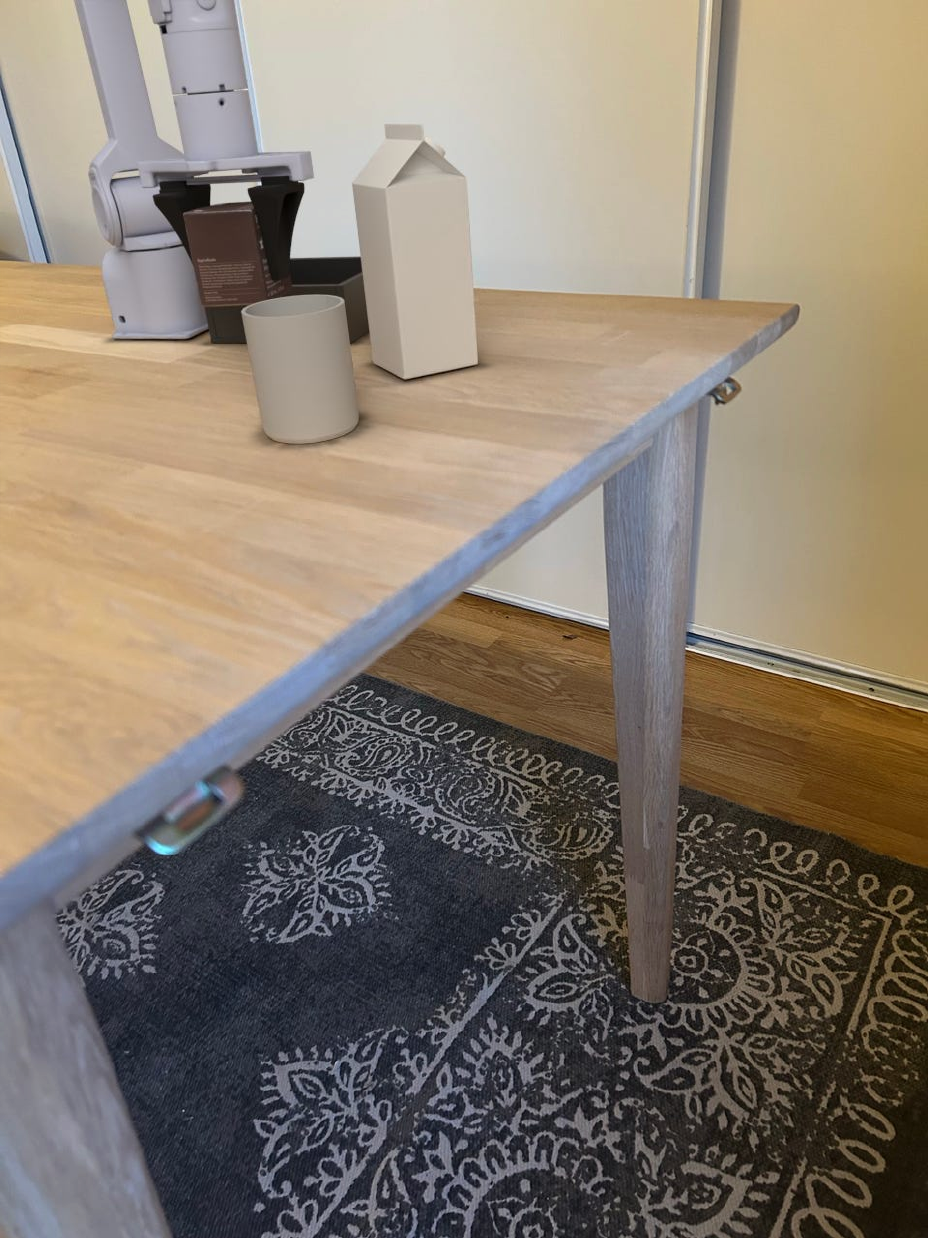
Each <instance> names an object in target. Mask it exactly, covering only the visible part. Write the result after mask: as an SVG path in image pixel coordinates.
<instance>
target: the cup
mask: <svg viewBox="0 0 928 1238" xmlns="http://www.w3.org/2000/svg"><path fill="white" fill-rule="evenodd" d="M241 313H242V319H243V324H244V330H245V335H246V340H247V343H246V345H247V351H248V357H249V362H250V367H251V373H252V377H253V384H254V389H255V395H256V400H257V406H258V409H259V410H258V411H259V416H260V421H261V425H262V429H263V431H264V434H265V435H266V436H267V437H268V438H270V439H271V440H272V441H275V442H278V443H282V444H291V445H294V444H296V445H297V444H298V445H303V444H313V443H314V444H315V443H320V442H321V443H322V442H326V441H329V440H334V439H337V438H339V437H343V436H345V435H347V434H349V433H350V432H352V431H353V430H354V429H355V428H356V427H357V425H358V423H359V420H360V411H359V401H358V394H357V386H356V379H355V372H354V364H353V363H354V362H353V357H352V349H351V344H350V340H349V332H348V325H347V317H346V309H345V302H344V299H343V298H341V297H337V296H332V295H299V296H289V297H281V298H275V299H270V300H265V301H261V302H257V303H255V304H252V305H249V306H247V307H245V308H243V310H242V311H241Z"/></svg>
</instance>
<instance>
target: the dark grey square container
mask: <svg viewBox="0 0 928 1238" xmlns="http://www.w3.org/2000/svg"><path fill="white" fill-rule="evenodd" d="M290 278H291V285H292V290H291V291H290V292H288V293H287V294H285V295H284V296H282V297H289V296H299V295H332V296H337V297H341V298H343V299H344V302H345V309H346V317H347V325H348V332H349V340H350V345H351V344H352V343H355V342H356V341H357V340H359V339H360V338H361V337H363V336H364V335H366V334H368V333H370V332H369V323H368V315H367V306H366V298H365V289H364V281H363V272H362V264H361V255H359V256H323V257H322V256H321V257H320V256H319V257H290ZM280 298H281V297H280ZM247 306H249V305H240V306H212V307H204V308H205V313H206V318H207V323H208V328H209V329H208V332H209V333H208V334H209V338H210V343H211V344H247V340H246V335H245V330H244V324H243V319H242V313H241V311H242V310H243V308H245V307H247Z"/></svg>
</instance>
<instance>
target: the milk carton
mask: <svg viewBox="0 0 928 1238" xmlns="http://www.w3.org/2000/svg"><path fill="white" fill-rule="evenodd" d="M424 131H425V130H424V124H411V123H410V124H409V123H402V124H401V123H385V124H384V135H385V140H384V141H383V142H382V143H381V145H380V146H379V147H378V148H377V149H376V151H375V153H373V155H372V156H371V158H370V159H369V160H368V161H367V163H366V164H365V166H364V167H363V168H362V169H361V170H360V172H359V173H358V174H357V175H356V177H355V179H354V180H353V181H352V182H351V187H352V194H353V204H354V211H355V213H354V214H355V219H356V229H357V237H358V245H359V253H360V255H359V256H361V264H362V272H363V281H364V289H365V298H366V306H367V315H368V323H369V332H368V333H369V340H370V348H371V349H370V350H371V357H372V362H373V364H374V365H376V366H378V367H380V368H381V369H383V370H385V371H388V372H389V373H391V374H393V375H395V376H397V377H399V378H401V379H402V380H409V379H410V380H411V379H413V378H418V377H422V376H423V377H424V376H428V375H434V374H437V373H438V374H439V373H442V372H448V371H452V370H457V369H462V368H466V367H472V366H476V365H478V364H479V357H478V341H477V325H476V309H475V294H474V293H475V291H474V290H475V289H474V277H473V275H474V274H473V261H472V243H471V228H470V226H471V225H470V213H469V212H470V210H469V195H468V193H469V192H468V183H467V176H465V174H463V173H462V172H461V171H460V170H459V169H457V167H455V166H454V165H453V164H452V163H451V162H449V160H447V158H445V156H446V151H445V150H444V148H443V147H442V146H441V145H440V144H439V143H438V142H437V141H435V140H433V139H431V138H429V137H427V136H425V132H424Z"/></svg>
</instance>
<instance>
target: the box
mask: <svg viewBox="0 0 928 1238" xmlns="http://www.w3.org/2000/svg"><path fill="white" fill-rule="evenodd" d="M183 217H184V221H185V227H186V232H187V237H188V242H189V247H190V252H191V257H192V262H193V267H194V272H195V277H196V281H197V286H198V291H199V296H200V302H201V305H202V306H204V307H212V306H240V305H252V304H255V303H257V302H261V301H265V300H270V299H275V298H280V297H282V296H284V295H285V294H287V293H288V292H290V291H291V290H292V285H291V278H290V276H287V277H285V278H283V279H281V280H272V279H271V276H270V272H269V269H268V264H267V259H266V253H265V247H264V241H263V236H262V232H261V229H260V225H259V222H258V218H257V215H256V213H255V210H254V207H253V204H252V202H251V201H237V202H236V201H235V202H222V203H214V204H210V206H206V207H201V208H197V209H194V210H191V211H188V212H185V213H183Z"/></svg>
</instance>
